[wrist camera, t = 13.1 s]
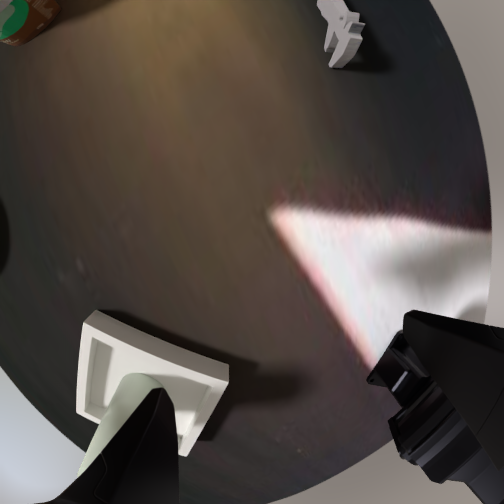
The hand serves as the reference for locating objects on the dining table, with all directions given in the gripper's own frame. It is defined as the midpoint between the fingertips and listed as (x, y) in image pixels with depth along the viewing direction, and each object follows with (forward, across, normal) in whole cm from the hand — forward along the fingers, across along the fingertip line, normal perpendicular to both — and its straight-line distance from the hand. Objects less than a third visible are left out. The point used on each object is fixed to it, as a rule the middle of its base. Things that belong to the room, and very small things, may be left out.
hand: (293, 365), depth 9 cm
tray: (+13, +13, +11) cm, 21 cm away
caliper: (+15, -12, -23) cm, 30 cm away
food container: (+17, +18, -31) cm, 40 cm away
